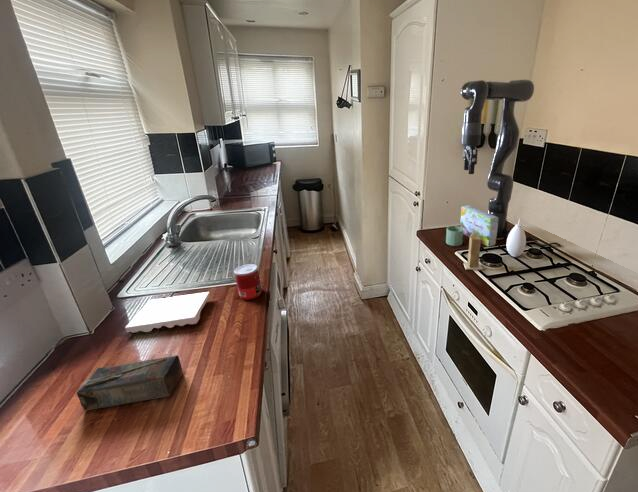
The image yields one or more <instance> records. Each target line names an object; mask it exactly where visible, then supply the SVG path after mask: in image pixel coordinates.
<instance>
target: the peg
mask: <svg viewBox="0 0 638 492" xmlns="http://www.w3.org/2000/svg"><path fill="white" fill-rule="evenodd" d="M481 244H482V243H481V239H480V237H479V236H470V237H469V240H468V253H467V263H468V266H469V268H478V264H479V263H480V253H481Z"/></svg>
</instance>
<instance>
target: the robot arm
mask: <svg viewBox="0 0 638 492" xmlns="http://www.w3.org/2000/svg"><path fill="white" fill-rule="evenodd" d="M534 93H535V83H533V81H532V80H530V79H514V80H513V79H512V80H510V81H509V82H507V81H493V80H492V81H486V80H482V79H480V80H471V81H467V82H465V83H464V84H463V85H462V87H461V89H460V95H461V97H462V99H464V100H466V101H472V104H471V105H470V106H467V107H465V108H464V109H463V110H464V111H463V124H462V127H461V128H462V129H461V146H463V153H462V160H463V170H464V171H467V173H468V175H474V174H475V167H476V165H477V164H478V152H479V150H478V149H476V147H477V146H480V145H481V139H482V138H481V137H482V118H483V110H484V107H485V104H486V101H492V100H493V101H496V100H503V101H502V111H501V118H500V123H499V129H498V133H497V139H496V145H495V148H494V149H495V150H494V155H493V159H492V163H491V166H490V170H489V172H488V176H487V182H486V185H487V189H489V190H490V191H492V192H496V193H497V195H496V197H495V196H494V197H491V198H489V199H488V205H487V213H489V214H491V215H494V216H496V217H498V227H497V236H496V241H501V240H507V236H508V235H509V233H510V231H511V230H512V229H510V228H509V226H508V223H509V222H508V220H507V218H508V212H509V211H508V210H509V205H510V202H511V198H512V194H513V189H514V188H513V187H514V178H513V176H512V175H511V174H506V173H503V171H504V166H505V164H506V162H507V160H508V159H509V158H510V157H511V155H512V154H513V153H514V152H515V150H516V149H517V146H518V143H519V138H520V127H519V125H518V122H517V119H516V117H515V104H516V103H523V102H527V101H530V100H531V98H533V95H534ZM526 240H533V241H534V243H535V244H536V245H537V246H540V247H548V246H553V245H556V246H558V247H562V245H561V244H560V243H559V242H549V243H545V244H544V243H539V242H538V241H537V239H536V238H534V237H531V236H526ZM558 243H559V244H558Z"/></svg>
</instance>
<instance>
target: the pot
mask: <svg viewBox="0 0 638 492" xmlns="http://www.w3.org/2000/svg"><path fill="white" fill-rule="evenodd" d="M445 230H446V233H445V243H446V244H447V245H448V246H451V247H459V246H461V245H463V243H464V242H463V241H464V234H463V231H464V229H463V228H462V227H460V225H449V226H447V227H446V228H445Z"/></svg>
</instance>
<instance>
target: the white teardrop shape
mask: <svg viewBox="0 0 638 492" xmlns="http://www.w3.org/2000/svg"><path fill="white" fill-rule="evenodd" d="M520 221H521V219H520V218H519V219H518V223H516V224H515V225H514V226H513V227H512V228H511V229H510V230H511V231H510V233H509V235H507V237H506V250H507V253H508V254H509V255H510V257H513V258H517V257H518V258H519V256H521V255H523V253H524V251H525V249H526V245H527V239H526V238H527V236H526V232H525V230H524V228H523V225H522V224H521V223H520Z"/></svg>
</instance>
